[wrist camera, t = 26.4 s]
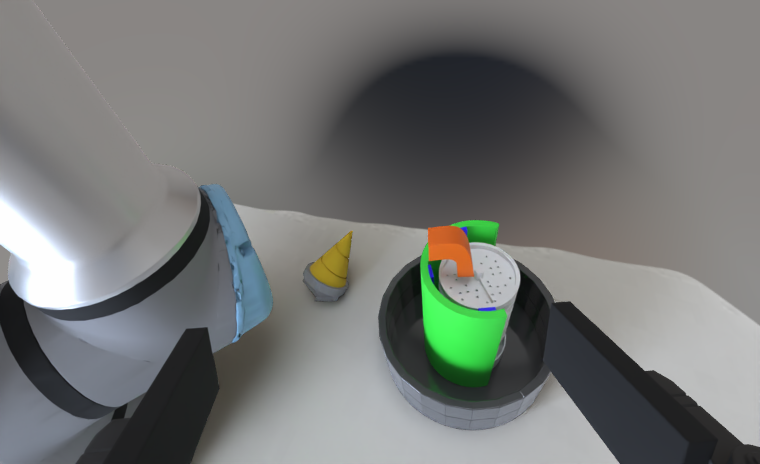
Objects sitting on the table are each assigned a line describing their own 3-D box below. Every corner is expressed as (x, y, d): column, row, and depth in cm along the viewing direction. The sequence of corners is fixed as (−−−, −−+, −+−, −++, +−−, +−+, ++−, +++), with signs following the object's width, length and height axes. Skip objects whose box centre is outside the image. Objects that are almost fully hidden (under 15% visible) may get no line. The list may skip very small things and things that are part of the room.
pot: (359, 385, 41) (347, 360, 36) (422, 262, 50) (419, 228, 45) (523, 464, 35) (535, 447, 30) (562, 308, 44) (577, 275, 39)
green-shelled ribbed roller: (517, 380, 39) (556, 279, 25) (434, 394, 39) (429, 301, 25) (488, 298, 45) (507, 180, 31) (417, 311, 45) (404, 199, 31)
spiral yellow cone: (301, 281, 51) (336, 214, 48) (339, 302, 51) (376, 236, 48) (286, 299, 45) (324, 224, 43) (328, 322, 45) (369, 249, 43)
